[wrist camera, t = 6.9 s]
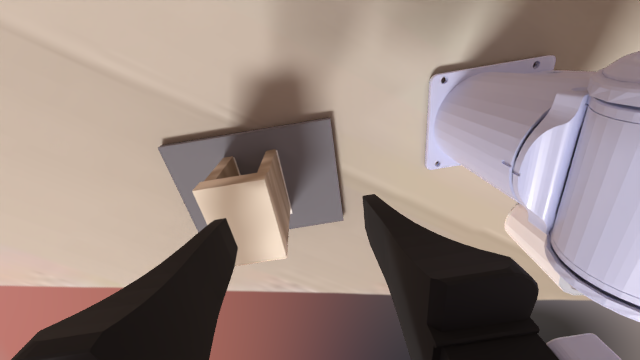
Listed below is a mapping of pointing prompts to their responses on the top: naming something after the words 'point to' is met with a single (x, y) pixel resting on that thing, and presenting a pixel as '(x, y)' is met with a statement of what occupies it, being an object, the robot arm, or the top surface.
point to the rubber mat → (248, 151)
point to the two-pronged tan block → (249, 207)
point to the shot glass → (533, 244)
